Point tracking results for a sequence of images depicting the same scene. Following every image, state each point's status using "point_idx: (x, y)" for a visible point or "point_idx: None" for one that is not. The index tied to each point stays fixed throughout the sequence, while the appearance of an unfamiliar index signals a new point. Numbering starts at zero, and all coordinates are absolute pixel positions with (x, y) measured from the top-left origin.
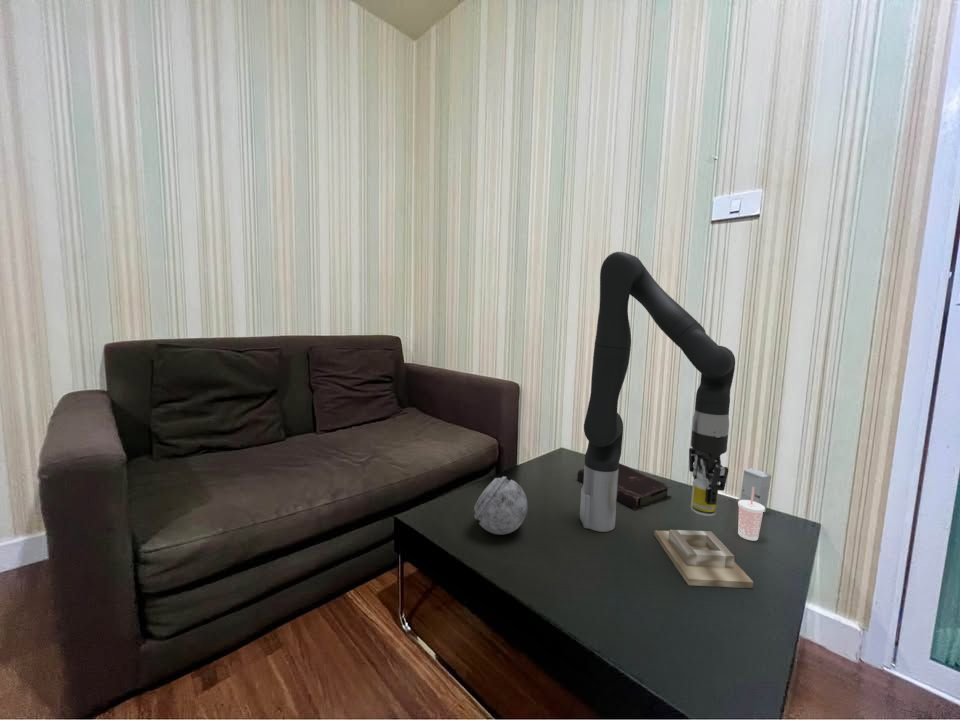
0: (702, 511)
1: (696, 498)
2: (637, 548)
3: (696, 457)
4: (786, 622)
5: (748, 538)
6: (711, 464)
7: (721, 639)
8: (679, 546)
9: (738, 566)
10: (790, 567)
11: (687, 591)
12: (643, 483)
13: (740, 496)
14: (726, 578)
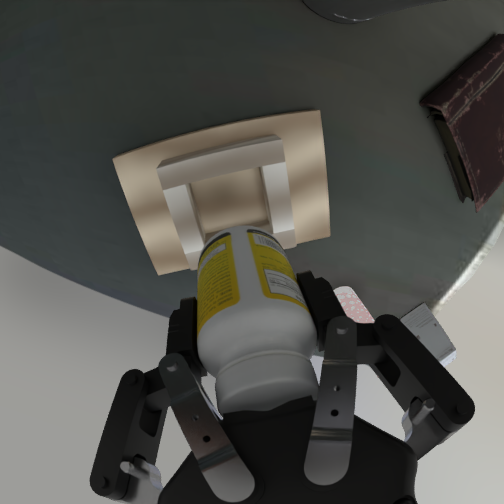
0: (199, 262)
1: (213, 271)
2: (236, 54)
3: (325, 465)
4: (96, 286)
5: None
6: (163, 495)
7: (17, 194)
8: (206, 152)
9: None
10: None
11: (97, 152)
12: (490, 154)
13: (431, 313)
14: (147, 233)
